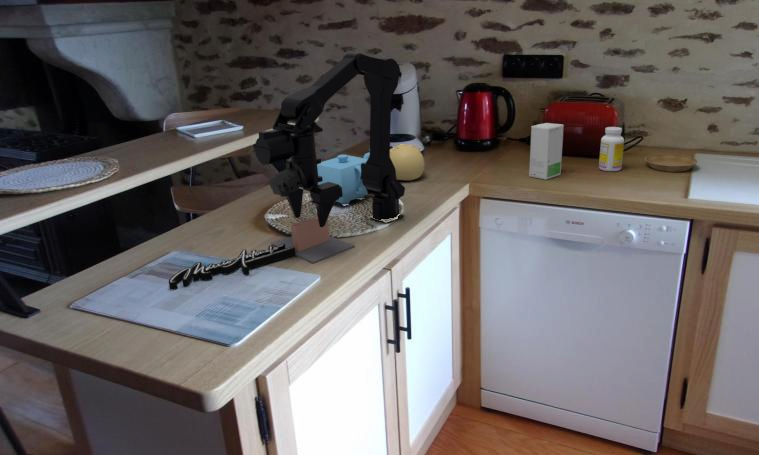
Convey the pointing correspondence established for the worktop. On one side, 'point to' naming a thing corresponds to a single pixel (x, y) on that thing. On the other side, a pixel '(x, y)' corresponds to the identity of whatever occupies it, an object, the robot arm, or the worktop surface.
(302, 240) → the card box
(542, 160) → the skincare box
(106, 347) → the worktop surface
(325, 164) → the teapot
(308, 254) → the mat
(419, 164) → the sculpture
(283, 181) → the robot arm
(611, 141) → the supplement bottle
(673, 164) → the plant saucer
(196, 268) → the nameplate
